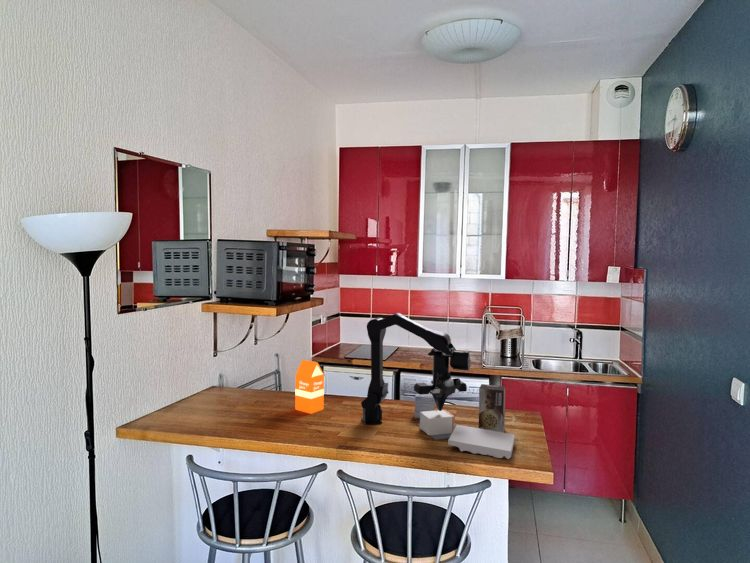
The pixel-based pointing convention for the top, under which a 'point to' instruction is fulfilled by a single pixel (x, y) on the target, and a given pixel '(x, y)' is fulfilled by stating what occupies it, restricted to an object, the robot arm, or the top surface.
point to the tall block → (437, 422)
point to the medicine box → (423, 404)
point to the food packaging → (482, 441)
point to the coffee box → (492, 407)
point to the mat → (441, 435)
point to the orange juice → (309, 387)
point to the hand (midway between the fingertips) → (439, 410)
